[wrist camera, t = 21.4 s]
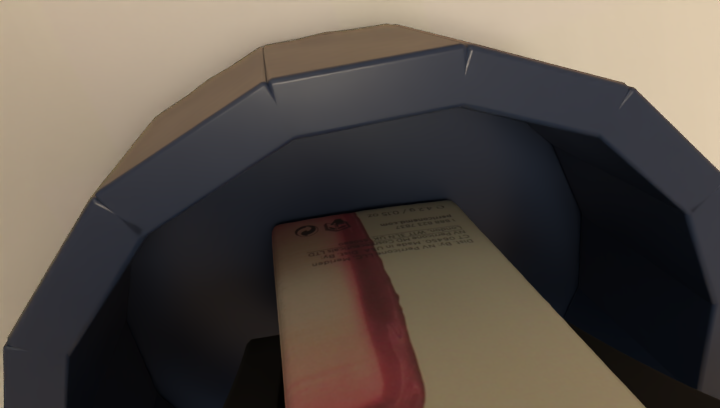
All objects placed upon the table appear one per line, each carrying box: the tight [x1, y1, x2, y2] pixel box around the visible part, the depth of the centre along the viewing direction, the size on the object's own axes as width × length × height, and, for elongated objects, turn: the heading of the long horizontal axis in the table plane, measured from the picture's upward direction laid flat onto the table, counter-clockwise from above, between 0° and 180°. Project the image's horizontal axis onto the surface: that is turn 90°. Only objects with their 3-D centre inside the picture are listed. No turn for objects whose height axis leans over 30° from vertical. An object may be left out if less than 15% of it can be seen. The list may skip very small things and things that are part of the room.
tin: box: [3, 24, 720, 408], centre depth 11 cm, size 13×13×4 cm
